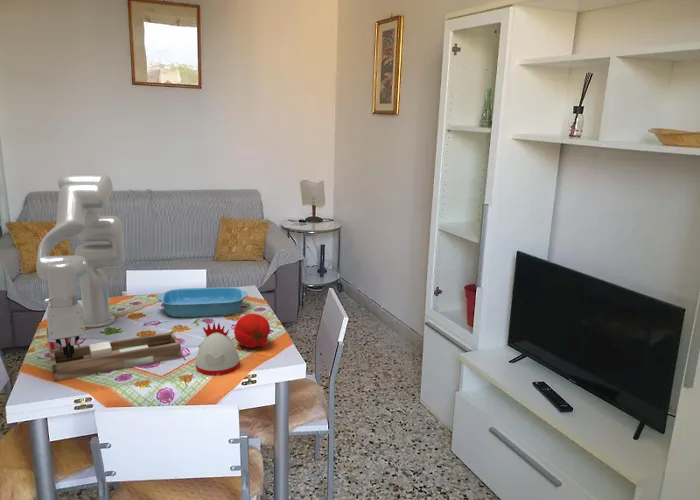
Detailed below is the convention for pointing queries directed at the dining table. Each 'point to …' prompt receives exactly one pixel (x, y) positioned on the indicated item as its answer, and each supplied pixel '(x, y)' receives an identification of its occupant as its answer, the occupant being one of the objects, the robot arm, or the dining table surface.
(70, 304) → the robot arm
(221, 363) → the kitchen timer
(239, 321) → the tomato
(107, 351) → the ivory block
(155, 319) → the dining table surface
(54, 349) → the soda can
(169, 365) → the dining table surface
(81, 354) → the box
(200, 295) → the casserole dish
